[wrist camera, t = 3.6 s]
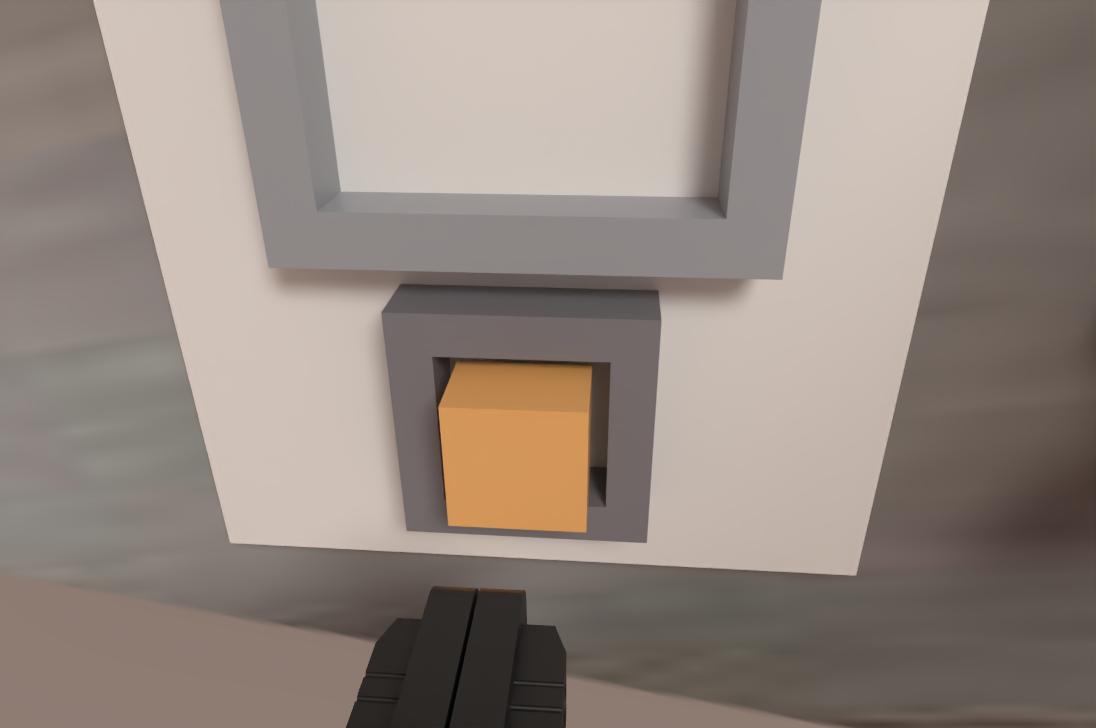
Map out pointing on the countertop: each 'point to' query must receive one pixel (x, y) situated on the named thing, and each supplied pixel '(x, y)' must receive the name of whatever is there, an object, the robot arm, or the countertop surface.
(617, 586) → the countertop surface
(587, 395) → the button
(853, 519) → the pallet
